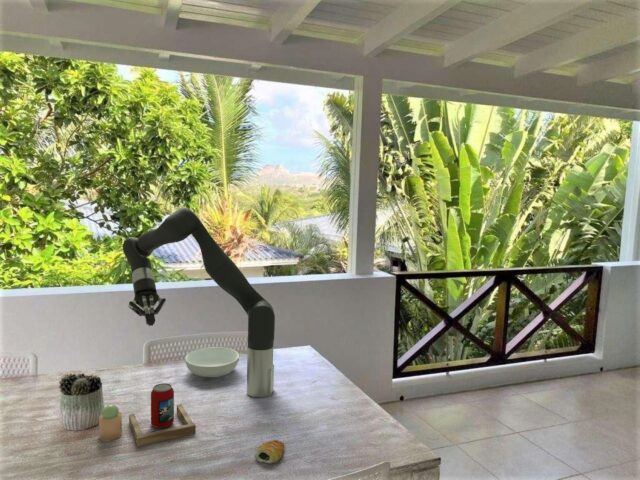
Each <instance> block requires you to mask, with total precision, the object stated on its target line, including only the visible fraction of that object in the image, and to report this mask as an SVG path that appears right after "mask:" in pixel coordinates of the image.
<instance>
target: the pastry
mask: <svg viewBox="0 0 640 480" xmlns="http://www.w3.org/2000/svg"><path fill="white" fill-rule="evenodd" d="M284 451H285V443H284V442H282V441H280V440H279V439H273V440H268V441H265V442H262V444H261V445H259V446H258V448H257V450H256V452H255V454H254V458H255V460H256V461H257V462H260V463H266V464H269V465H271V464H275V463H277V462H279V460H281V458H282V456H283V453H284Z"/></svg>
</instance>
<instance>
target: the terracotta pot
mask: <svg viewBox="0 0 640 480" xmlns="http://www.w3.org/2000/svg"><path fill="white" fill-rule="evenodd" d="M122 416H123V414H122V412H121V411H119V408H118V406H117V405H115V404H108V405H107V406H104V407H103V409H102V413H101V414H100V415H99V417H98V421H99V423H98V424H99V425H98V427H99V428H98V429H99V439H100V440H101V441H104V442H106V441H107V442H110V441H114V440H117V439H118V438H120V437H122V435H123V423H122V422H123V417H122Z"/></svg>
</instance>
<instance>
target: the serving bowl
mask: <svg viewBox="0 0 640 480" xmlns="http://www.w3.org/2000/svg"><path fill="white" fill-rule="evenodd" d="M184 359H185V360H184V361H185V364H186V368H187V369H188V370H189V372H191V373H192V374H193V375H196V376H199V377H202V378H218V377H222V376H226V375H228V374H229V373H231V372H233V371H234V370H235V369H236V368H237V366H238V363H239V360H240V354H239V352H238V351H236V350H235V349H232V348H229V347H221V346H220V347H219V346H213V347H211V346H210V347H205V348H204V347H203V348H199V349H195V350H193V351H190V352H189V353H187V354H186V355H185V358H184Z"/></svg>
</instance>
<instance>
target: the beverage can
mask: <svg viewBox="0 0 640 480" xmlns="http://www.w3.org/2000/svg"><path fill="white" fill-rule="evenodd" d="M174 418H175V391H174V388H173V386H172V384H170V383H164V382H162V383H158V384H155V385H154V386H153V387H152V390H151V392H150V423H151V426H153V427H154V428H157V429H158V428H159V429H164V428H167V427H169V426H171V425H172V424H173V423H174V420H175V419H174Z"/></svg>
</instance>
